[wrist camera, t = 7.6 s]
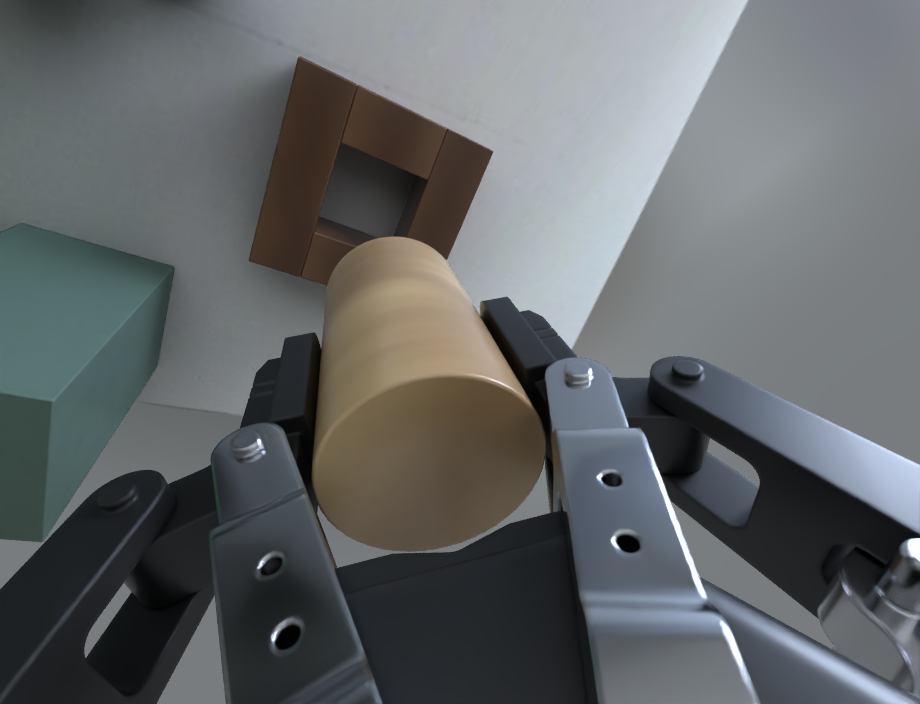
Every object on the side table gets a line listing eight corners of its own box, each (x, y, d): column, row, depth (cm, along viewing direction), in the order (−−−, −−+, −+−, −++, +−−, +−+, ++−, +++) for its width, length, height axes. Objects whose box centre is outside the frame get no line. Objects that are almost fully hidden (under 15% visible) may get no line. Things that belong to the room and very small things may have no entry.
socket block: (258, 241, 30) (248, 261, 27) (303, 59, 26) (298, 55, 22) (415, 292, 34) (423, 315, 31) (476, 143, 30) (493, 151, 27)
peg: (309, 339, 15) (282, 542, 8) (349, 214, 13) (357, 343, 7) (430, 370, 17) (487, 561, 10) (479, 263, 15) (589, 405, 8)
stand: (17, 337, 30) (-219, 523, 17) (21, 222, 27) (-265, 346, 14) (157, 366, 33) (43, 543, 20) (175, 266, 30) (53, 401, 17)
